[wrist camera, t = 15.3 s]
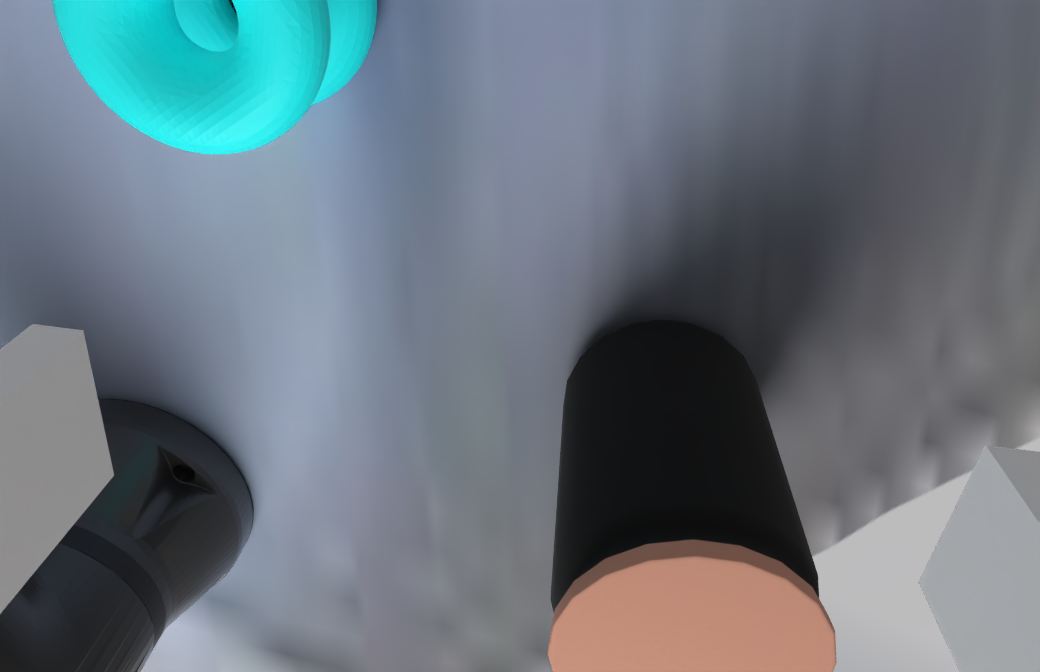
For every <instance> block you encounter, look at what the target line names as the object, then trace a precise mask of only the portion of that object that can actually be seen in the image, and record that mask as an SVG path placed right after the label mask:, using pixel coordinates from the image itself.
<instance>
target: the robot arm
mask: <svg viewBox="0 0 1040 672" xmlns="http://www.w3.org/2000/svg"><path fill="white" fill-rule="evenodd" d="M252 522H253V509H252V502H251V498H250V494H249V491H248V489H247V486H246V484H245V482H244V480H243V478H242V476H241V474H240V473H239V471H238V469H237V468H236V467H235V465H234V464H233V462H232V461H231V460H230V459H229V458H228V456H227V455H226V454H225V453H224V452H223V451H222V450H221V449H220V448H219V447H218V446H217V445H216V444H215V443H214V442H213V441H212V440H210V439H209V438H208V437H207V436H205V435H204V434H203V433H201V432H200V431H199V430H197V429H196V428H194V427H193V426H191V425H189V424H188V423H186V422H184V421H182V420H181V419H179V418H177V417H175V416H173V415H170V414H168V413H166V412H163V411H161V410H158V409H156V408H153V407H150V406H146V405H143V404H139V403H134V402H129V401H123V400H111V399H98V397H97V392H96V387H95V383H94V378H93V373H92V369H91V364H90V359H89V355H88V350H87V345H86V340H85V336H84V331H83V330H77V329H69V328H61V327H54V326H46V325H38V324H32V325H30V326H29V327H28V328H26V329H25V330H24V331H23V332H21V333H20V334H19V335H17V336H16V337H15V338H14V339H12V340H11V341H10V342H8V343H7V344H6V345H5V346H3V347H2V348H1V349H0V672H140V671H141V670H142V668H143V666H144V664H145V663H146V661H147V659H148V657H149V656H150V654H151V652H152V650H153V648H154V647H155V645H156V643H157V642H158V640H159V638H160V637H161V635H162V633H163V632H164V630H165V629H166V627H168V626H169V625H170V624H171V623H172V622H173V621H174V620H176V619H177V618H178V617H179V616H180V615H181V614H182V613H184V612H185V611H186V610H187V609H188V608H189V607H190V606H192V605H193V604H194V603H195V602H196V601H197V600H198V599H199V598H200V597H201V596H203V595H204V594H205V593H206V592H207V591H208V590H209V589H210V588H211V587H212V586H214V585H215V584H217V583H218V582H219V581H220V580H221V579H223V578H224V577H225V575H226V574H227V573H228V572H229V571H230V569H231V568H232V567H233V565H234V564H235V562H236V560H237V558H238V556H239V555H240V553H241V551H242V549H243V547H244V545H245V543H246V542H247V540H248V537H249V535H250V532H251V528H252ZM919 584H920V586H921V589H922V591H923V593H924V595H925V597H926V600H927V602H928V604H929V606H930V608H931V611H932V613H933V615H934V617H935V619H936V622H937V624H938V626H939V628H940V630H941V633H942V635H943V637H944V639H945V641H946V643H947V646H948V648H949V650H950V652H951V654H952V657H953V659H954V661H955V663H956V665H957V668H958V670H959V672H1040V452H1035V451H1027V450H1020V449H1012V448H1004V447H996V446H988V445H985V447H984V449H983V451H982V454H981V456H980V458H979V460H978V462H977V464H976V466H975V468H974V470H973V472H972V474H971V476H970V478H969V480H968V482H967V484H966V486H965V488H964V490H963V492H962V494H961V496H960V498H959V500H958V502H957V504H956V506H955V509H954V511H953V513H952V515H951V517H950V519H949V521H948V523H947V525H946V527H945V529H944V531H943V533H942V535H941V537H940V539H939V541H938V543H937V545H936V547H935V549H934V551H933V553H932V556H931V558H930V559H929V561H928V563H927V566H926V568H925V570H924V572H923V574H922V576H921V578H920V580H919Z"/></svg>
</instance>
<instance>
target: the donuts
mask: <svg viewBox="0 0 1040 672" xmlns="http://www.w3.org/2000/svg"><path fill="white" fill-rule="evenodd" d="M52 2H53V7H54V12H55V16H56V20H57V24H58V27H59V30H60V33H61V36H62V38H63V41H64V43H65V46H66V48H67V50H68V52H69V54H70V56H71V58H72V60H73V61H74V63H75V65H76V67H77V68H78V70H79V71H80V73H81V75H82V76H83V77H84V79H85V80H86V82H87V83H88V84H89V86H90V87H91V88H92V89H93V91H94V92H95V93H96V94H97V95H98V96H99V98H100V99H101V100H102V101H103V102H104V103H105V104H106V105H107V106H108V107H109V108H110V109H111V110H113V111H114V112H115V113H116V114H117V115H118V116H120V117H121V118H122V119H123V120H125V121H126V122H127V123H129V124H130V125H131V126H133V127H134V128H136V129H138V130H139V131H141V132H143V133H144V134H146V135H148V136H150V137H152V138H154V139H156V140H158V141H160V142H162V143H165V144H167V145H170V146H172V147H175V148H179V149H182V150H186V151H190V152H195V153H202V154H232V153H239V152H244V151H249V150H252V149H255V148H258V147H261V146H263V145H266V144H268V143H270V142H272V141H273V140H275V139H277V138H278V137H280V136H281V135H283V134H284V133H285V132H287V131H288V130H289V129H291V128H292V127H293V126H294V125H295V124H296V123H297V122H298V121H299V120H300V119H301V118H302V117H303V116H304V114H305V113H306V112H307V110H308V109H309V108H310V106H311V105H314V104H316V103H319V102H321V101H323V100H325V99H327V98H329V97H330V96H332V95H333V94H335V93H336V92H338V91H339V90H340V89H341V88H342V87H344V86H345V85H346V84H347V83H348V82H349V81H350V80H351V79H352V77H353V76H354V75H355V74H356V73H357V71H358V70H359V68H360V67H361V65H362V63H363V62H364V60H365V58H366V56H367V54H368V51H369V49H370V46H371V43H372V40H373V36H374V32H375V27H376V19H377V0H232V2H233V4H234V7H235V9H236V12H237V15H236V13H235V11H234V10H233V8H232V5H231V3H230V0H52Z"/></svg>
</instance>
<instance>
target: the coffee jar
mask: <svg viewBox="0 0 1040 672" xmlns="http://www.w3.org/2000/svg"><path fill="white" fill-rule="evenodd" d="M551 603H552V607H553V611H554V617H553V623H552V629H551V635H550V640H549V646H548V652H547V653H548V656H549V659H550V663H551V666H552V670H553V672H833V670H834V668H835V665H836V645H835V630H834V627H833V625H832V623H831V621H830V618H829V616H828V614H827V612H826V611H825V609H824V607H823V605H822V604H821V602H820V600H819V589H818V574H817V571H816V568H815V565H814V562H813V559H812V555H811V552H810V549H809V546H808V543H807V540H806V537H805V533H804V530H803V527H802V524H801V521H800V518H799V514H798V511H797V508H796V505H795V502H794V499H793V496H792V492H791V489H790V486H789V483H788V480H787V477H786V473H785V470H784V467H783V464H782V461H781V458H780V455H779V451H778V448H777V445H776V442H775V439H774V436H773V433H772V429H771V426H770V423H769V420H768V417H767V414H766V410H765V407H764V404H763V401H762V398H761V395H760V392H759V388H758V385H757V382H756V379H755V377H754V375H753V374H752V372H751V370H750V368H749V366H748V364H747V362H746V360H745V358H744V356H743V355H742V354H740V353H739V352H738V351H737V350H736V349H735V348H734V347H733V346H732V345H730V344H729V343H728V342H727V341H726V340H725V339H724V338H723V337H721V336H719V335H717V334H715V333H712V332H710V331H708V330H706V329H703V328H701V327H699V326H696V325H694V324H691V323H683V322H675V321H667V320H657V321H650V322H643V323H637V324H631V325H628V326H626V327H624V328H622V329H620V330H617V331H615V332H613V333H611V334H609V335H606V336H604V337H603V338H602V339H601V340H600V341H598V342H597V343H596V344H595V345H594V346H593V347H592V348H590V349H589V350H588V351H587V352H586V353H585V354H584V355H583V356H582V357H580V359H579V361H578V363H577V364H576V366H575V368H574V370H573V371H572V373H571V375H570V377H569V379H568V380H567V386H566V393H565V399H564V407H563V422H562V436H561V451H560V466H559V481H558V496H557V511H556V526H555V541H554V556H553V571H552V586H551Z"/></svg>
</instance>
